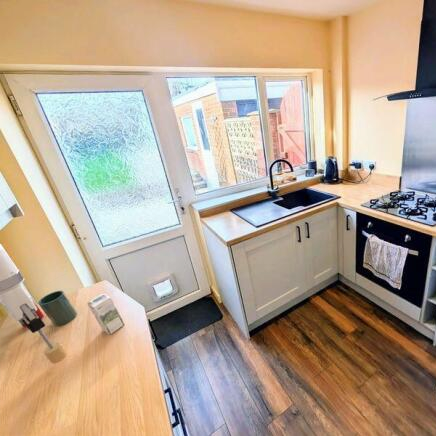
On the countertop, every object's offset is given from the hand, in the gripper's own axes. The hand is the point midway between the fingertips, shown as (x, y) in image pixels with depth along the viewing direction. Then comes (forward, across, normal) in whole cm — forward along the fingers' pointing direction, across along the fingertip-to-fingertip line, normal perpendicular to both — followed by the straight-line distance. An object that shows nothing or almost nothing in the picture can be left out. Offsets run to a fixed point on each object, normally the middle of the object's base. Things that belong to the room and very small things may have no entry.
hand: (37, 327), depth 79 cm
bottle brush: (+15, 0, 0) cm, 15 cm away
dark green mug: (+16, -24, +9) cm, 30 cm away
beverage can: (+17, -36, +2) cm, 39 cm away
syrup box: (+16, +2, +16) cm, 23 cm away
